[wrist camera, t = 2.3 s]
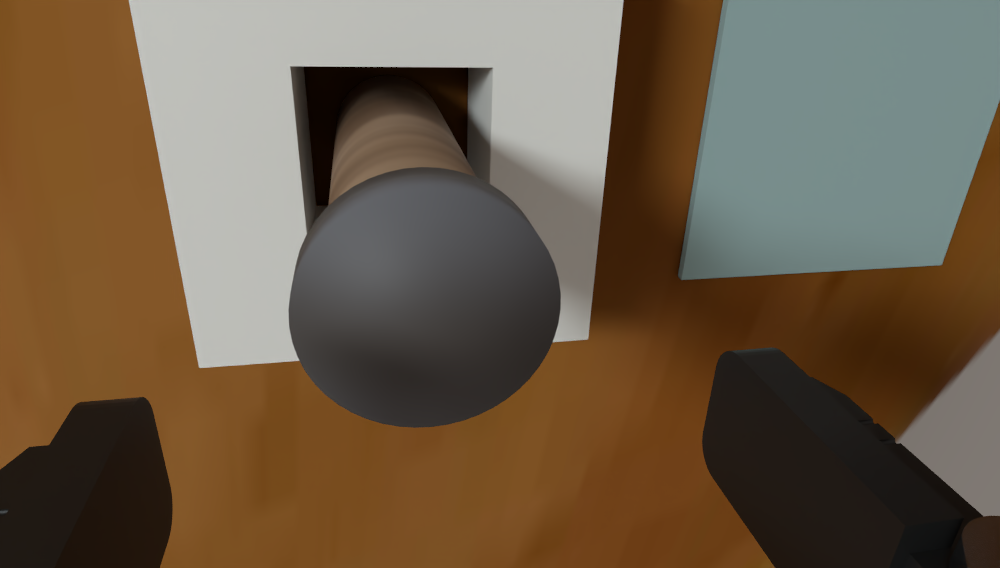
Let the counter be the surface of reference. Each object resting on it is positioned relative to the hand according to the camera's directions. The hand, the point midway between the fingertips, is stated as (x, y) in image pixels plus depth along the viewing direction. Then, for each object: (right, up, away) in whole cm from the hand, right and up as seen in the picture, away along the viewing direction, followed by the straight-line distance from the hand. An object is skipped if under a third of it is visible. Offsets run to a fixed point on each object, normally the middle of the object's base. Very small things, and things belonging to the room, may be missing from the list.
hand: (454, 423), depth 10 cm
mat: (+16, +9, +20) cm, 27 cm away
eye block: (-4, +8, +16) cm, 18 cm away
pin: (-4, +8, +16) cm, 18 cm away
